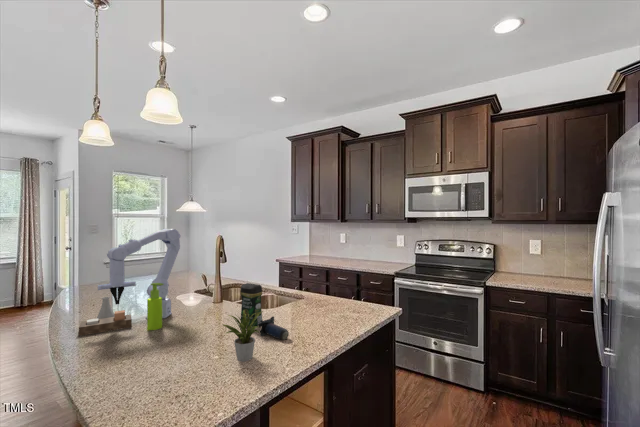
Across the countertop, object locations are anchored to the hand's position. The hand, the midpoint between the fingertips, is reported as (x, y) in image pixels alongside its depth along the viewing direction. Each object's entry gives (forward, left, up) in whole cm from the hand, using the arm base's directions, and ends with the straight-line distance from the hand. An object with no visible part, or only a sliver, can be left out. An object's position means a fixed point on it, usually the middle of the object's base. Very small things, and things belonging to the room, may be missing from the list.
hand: (117, 303), depth 144 cm
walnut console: (+4, +2, -10) cm, 11 cm away
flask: (+14, -14, -11) cm, 22 cm away
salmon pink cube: (-1, 0, -8) cm, 8 cm away
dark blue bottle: (-73, +17, -11) cm, 76 cm away
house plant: (-64, +35, -11) cm, 74 cm away
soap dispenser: (-18, +3, -11) cm, 21 cm away
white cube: (+8, +5, -10) cm, 14 cm away
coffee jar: (-60, +1, -11) cm, 61 cm away
